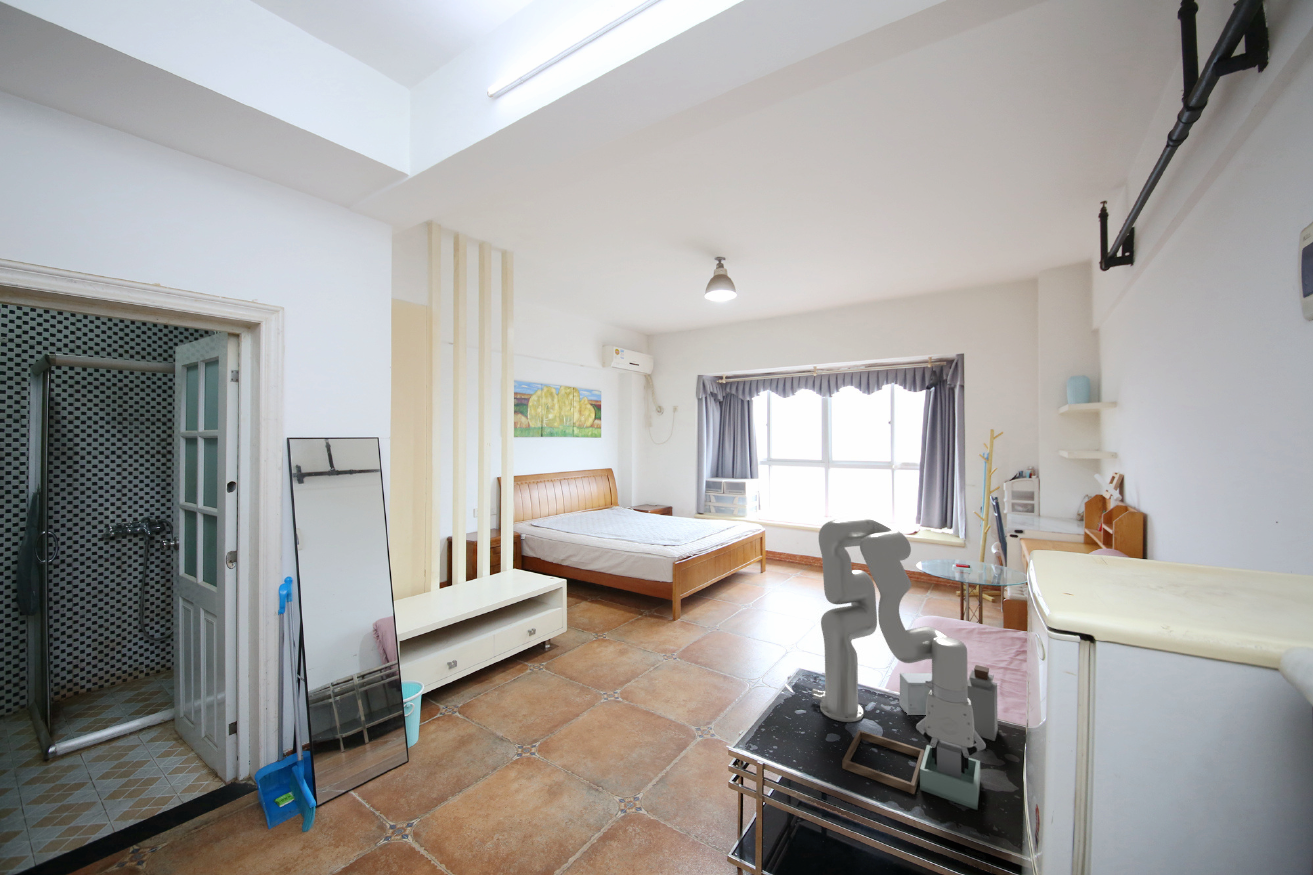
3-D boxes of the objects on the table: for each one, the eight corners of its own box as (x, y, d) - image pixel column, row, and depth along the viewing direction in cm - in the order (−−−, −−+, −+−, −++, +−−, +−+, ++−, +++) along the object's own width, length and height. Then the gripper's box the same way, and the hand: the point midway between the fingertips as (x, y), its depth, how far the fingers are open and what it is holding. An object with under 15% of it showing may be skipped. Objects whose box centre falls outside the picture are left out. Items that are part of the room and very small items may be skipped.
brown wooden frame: (842, 768, 130) (842, 760, 130) (858, 736, 143) (858, 729, 143) (914, 794, 120) (914, 785, 120) (924, 757, 134) (924, 750, 134)
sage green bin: (920, 789, 122) (920, 768, 122) (927, 763, 131) (927, 744, 131) (977, 809, 115) (977, 787, 115) (980, 781, 124) (980, 760, 124)
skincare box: (908, 716, 153) (908, 682, 153) (899, 705, 160) (898, 672, 160) (943, 716, 153) (943, 682, 153) (932, 705, 159) (932, 672, 159)
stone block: (937, 771, 122) (936, 746, 122) (939, 760, 127) (939, 736, 127) (961, 779, 120) (960, 753, 120) (962, 767, 124) (962, 743, 124)
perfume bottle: (970, 721, 150) (969, 661, 150) (997, 729, 146) (997, 667, 146) (966, 732, 145) (966, 669, 145) (994, 741, 141) (994, 676, 141)
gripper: (908, 687, 125) (908, 761, 125) (990, 708, 115) (991, 788, 115) (913, 675, 131) (913, 746, 131) (992, 694, 121) (992, 770, 121)
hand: (950, 765), depth 123 cm, fingers closed on stone block, 4 cm apart
